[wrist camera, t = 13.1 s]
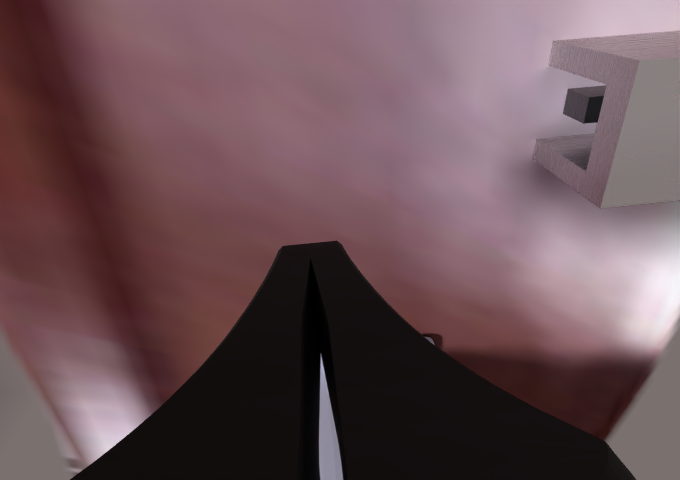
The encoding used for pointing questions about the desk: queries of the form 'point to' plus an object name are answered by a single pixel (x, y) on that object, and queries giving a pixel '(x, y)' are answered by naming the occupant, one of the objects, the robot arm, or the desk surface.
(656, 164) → the lock
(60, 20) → the desk surface
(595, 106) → the coupler
